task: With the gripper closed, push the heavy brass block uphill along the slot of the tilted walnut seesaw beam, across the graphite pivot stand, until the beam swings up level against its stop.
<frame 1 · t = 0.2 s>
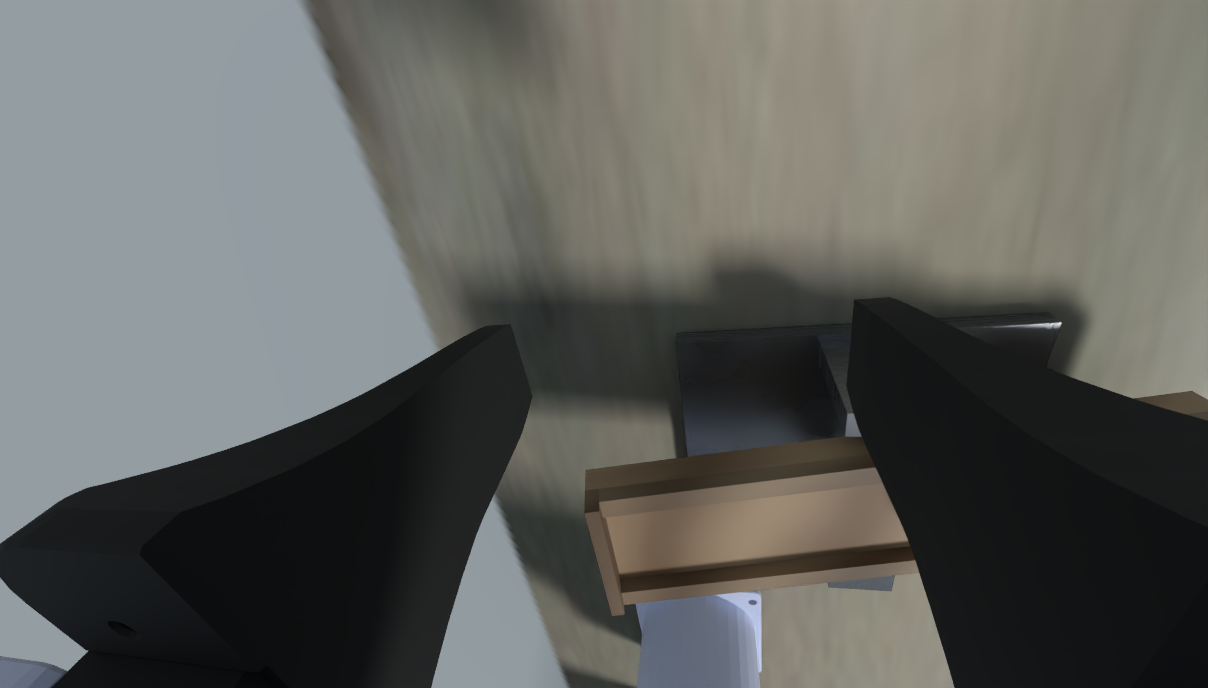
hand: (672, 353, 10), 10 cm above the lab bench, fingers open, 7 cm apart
pivot stand: (838, 418, 22), on the lab bench
beam: (873, 501, 18), point 5 cm above the lab bench, hinge at -10.8°, touching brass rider
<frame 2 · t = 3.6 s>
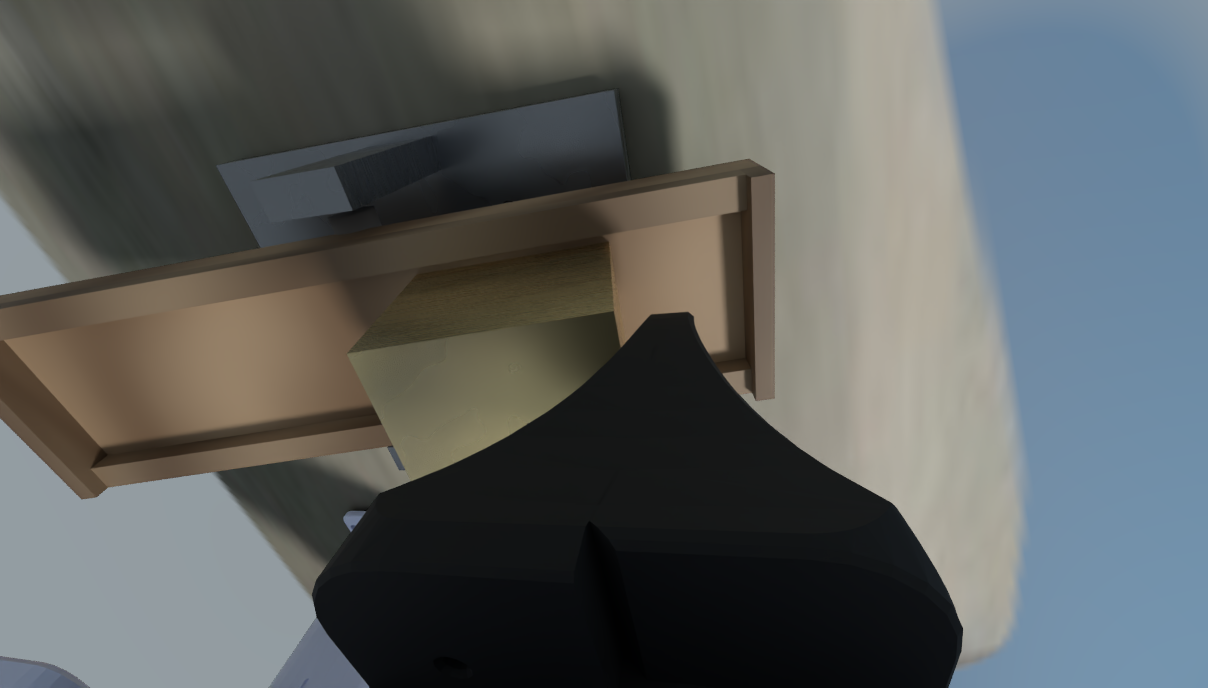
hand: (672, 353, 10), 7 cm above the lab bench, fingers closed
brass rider: (528, 320, 13), point 5 cm above the lab bench, tilted 11°, touching beam, gripper
pivot stand: (456, 272, 18), on the lab bench
beam: (388, 337, 14), point 5 cm above the lab bench, hinge at -10.8°, touching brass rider
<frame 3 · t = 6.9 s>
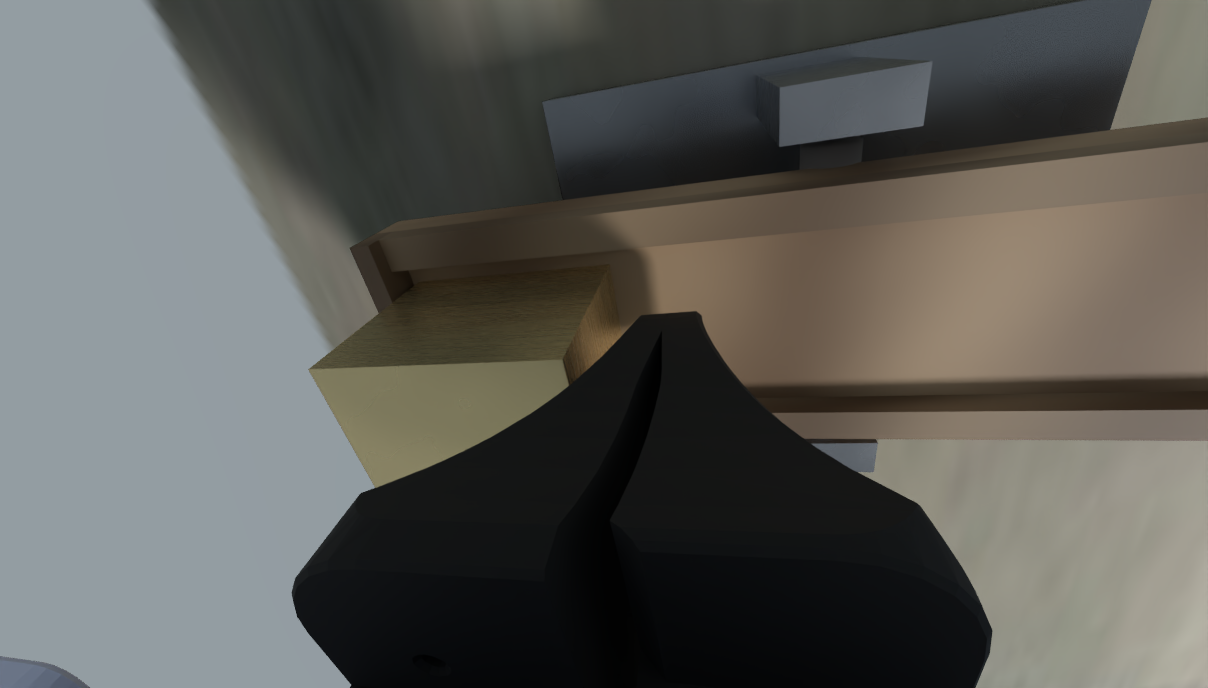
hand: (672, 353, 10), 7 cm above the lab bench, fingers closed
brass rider: (527, 337, 13), point 5 cm above the lab bench, touching beam, gripper
pivot stand: (796, 235, 15), on the lab bench
beam: (829, 306, 11), point 5 cm above the lab bench, hinge at 1.3°, touching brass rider
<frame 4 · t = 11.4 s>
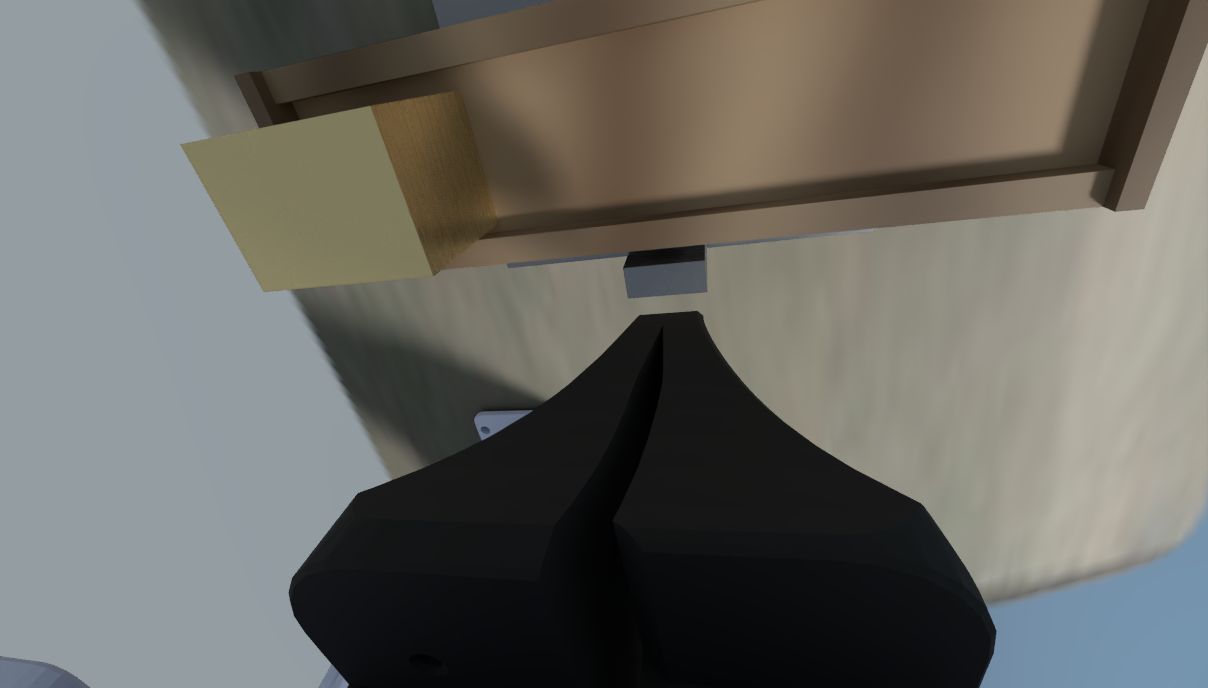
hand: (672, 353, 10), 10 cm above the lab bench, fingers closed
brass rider: (404, 172, 14), point 5 cm above the lab bench, touching beam
pivot stand: (662, 107, 17), on the lab bench
beam: (648, 126, 13), point 5 cm above the lab bench, hinge at 1.3°, touching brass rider
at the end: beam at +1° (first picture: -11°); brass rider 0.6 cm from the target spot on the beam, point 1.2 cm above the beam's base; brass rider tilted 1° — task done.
